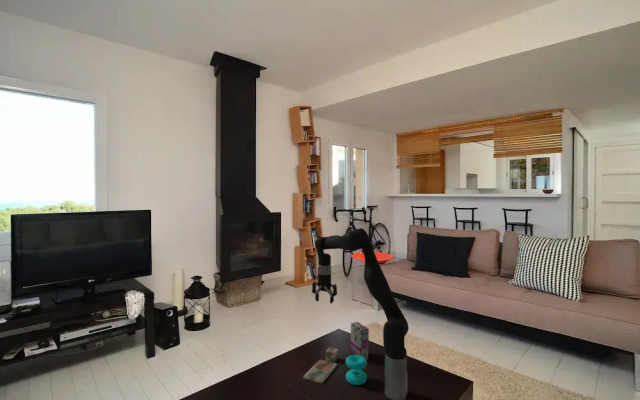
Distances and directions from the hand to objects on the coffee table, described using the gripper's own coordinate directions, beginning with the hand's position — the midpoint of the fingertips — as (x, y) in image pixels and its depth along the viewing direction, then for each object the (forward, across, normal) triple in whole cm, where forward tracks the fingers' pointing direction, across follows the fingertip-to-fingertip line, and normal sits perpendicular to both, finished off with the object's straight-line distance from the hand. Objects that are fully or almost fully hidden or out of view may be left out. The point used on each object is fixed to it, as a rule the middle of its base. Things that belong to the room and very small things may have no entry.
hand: (324, 302), depth 176 cm
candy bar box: (+28, -19, -5) cm, 34 cm away
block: (+28, -7, +5) cm, 29 cm away
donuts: (+28, -25, +18) cm, 42 cm away
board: (+28, -7, +19) cm, 35 cm away
